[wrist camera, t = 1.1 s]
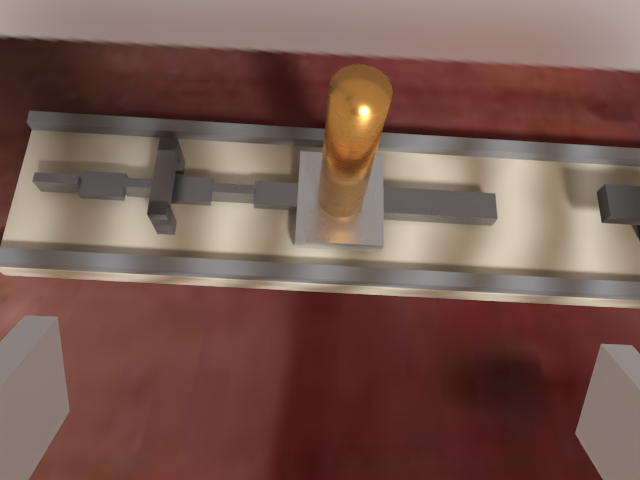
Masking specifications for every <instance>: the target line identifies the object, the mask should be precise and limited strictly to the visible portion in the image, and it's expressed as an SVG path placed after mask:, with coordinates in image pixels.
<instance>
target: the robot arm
mask: <svg viewBox="0 0 640 480" xmlns="http://www.w3.org/2000/svg"><path fill="white" fill-rule="evenodd" d="M68 413H69V404H68V396H67V388H66V380H65V372H64V364H63V356H62V348H61V340H60V332H59V324H58V317H48V316H28V315H25V316H24V317H23V318H22V319H21V320H20V321H19V322H18V323H17V324H16V326H15V327H14V328H13V329H12V330H11V331H10V332H9V333H8V334H7V335H6V336H5V337H4V339H3V340H2V341H1V342H0V480H29V478H30V476H31V475H32V473H33V471H34V470H35V468H36V466H37V465H38V463H39V461H40V460H41V458H42V456H43V455H44V453H45V451H46V450H47V448H48V446H49V445H50V443H51V441H52V440H53V438H54V436H55V435H56V433H57V431H58V430H59V428H60V426H61V425H62V423H63V421H64V420H65V418H66V416H67V415H68ZM575 434H576V436H577V437H578V439H579V441H580V442H581V444H582V446H583V447H584V449H585V451H586V452H587V454H588V456H589V457H590V459H591V461H592V462H593V464H594V465H595V467H596V469H597V470H598V472H599V474H600V475H601V477H602V479H603V480H640V354H639V353H638V351H637V350H636V349H635V348H634V347H633V346H632V345H614V344H601V346H600V350H599V353H598V357H597V360H596V364H595V367H594V370H593V374H592V377H591V381H590V384H589V388H588V391H587V395H586V398H585V402H584V405H583V408H582V412H581V415H580V419H579V422H578V426H577V429H576V433H575Z"/></svg>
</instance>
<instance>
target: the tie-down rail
mask: <svg viewBox="0 0 640 480" xmlns="http://www.w3.org/2000/svg"><path fill="white" fill-rule="evenodd" d="M26 122H27V124H28V125H29V127H30V128H31V129H32V131H31V135H30V139H29V142H28V146H27V150H26V153H25V157H24V161H23V164H22V168H21V172H20V175H19V179H18V183H17V187H16V190H15V194H14V198H13V201H12V205H11V209H10V212H9V216H8V220H7V223H6V227H5V231H4V234H3V238H2V242H1V245H0V272H1V273H2V274H4V275H10V276H29V277H48V278H67V279H86V280H105V281H124V282H143V283H162V284H182V285H201V286H220V287H239V288H258V289H277V290H296V291H315V292H334V293H353V294H372V295H391V296H410V297H429V298H448V299H467V300H486V301H505V302H524V303H543V304H562V305H582V306H601V307H620V308H639V309H640V148H625V147H609V146H593V145H576V144H560V143H544V142H528V141H512V140H496V139H479V138H463V137H447V136H431V135H415V134H399V133H382V135H381V138H380V142H379V146H378V149H377V153H376V156H383V187H396V188H413V189H430V190H447V191H464V192H481V193H495V195H496V206H497V218H498V219H497V220H496V222H495V223H494V224H493V225H492V226H486V225H468V224H450V223H433V222H415V221H398V220H384V246H383V249H382V251H381V252H368V251H350V250H332V249H313V248H295V233H296V216H297V211H292V210H275V209H257V208H254V204H250V203H233V202H215V201H212V203H211V206H205V205H187V204H171V197H172V191H173V184H174V178H175V176H181V177H198V178H213V181H214V183H227V184H244V185H255V183H256V181H267V182H284V183H298V182H299V166H300V151H307V152H323V143H324V133H325V129H318V128H302V127H285V126H269V125H253V124H237V123H221V122H205V121H188V120H172V119H156V118H140V117H124V116H108V115H91V114H75V113H59V112H43V111H29V114H28V118H27V121H26ZM82 171H96V172H113V173H126V174H127V176H128V178H141V179H153V181H152V187H151V193H150V198H145V197H128V196H127V195H125V201H117V200H100V199H82V198H80V197H79V195H78V194H76V193H58V192H41V191H40V190H39V189H38V187H37V186H36V185H35V184H34V183H33V182H32V180H33V176H34V173H35V172H39V173H56V174H73V175H80V177H81V175H82Z"/></svg>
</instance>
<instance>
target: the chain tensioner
mask: <svg viewBox="0 0 640 480" xmlns="http://www.w3.org/2000/svg"><path fill="white" fill-rule="evenodd" d="M391 98H392V86H391V83H390V81H389V80H388V78H387V77H386V76H385V75H384V74H383V73H382V72H381V71H380V70H378V69H376V68H374V67H371V66H368V65H362V64H355V65H349V66H346V67H344V68H342V69H340V70H339V71H338V72H337V73H336V74H335V75H334V76H333V78H332V79H331V82H330V87H329V96H328V105H327V115H326V124H325V133H324V143H323V152H307V151H300V166H299V182H298V183H284V182H267V181H256V183H255V185H244V184H227V183H214V181H213V178H198V177H181V176H175V178H174V184H173V191H172V197H171V204H187V205H205V206H211V203H212V201H215V202H233V203H250V204H254V208H257V209H275V210H292V211H297V216H296V233H295V248H313V249H332V250H350V251H368V252H381V251H382V249H383V246H384V220H398V221H415V222H433V223H450V224H468V225H486V226H492V225H493V224H494V223H495V222H496V220H497V219H498V218H497V206H496V195H495V193H481V192H464V191H447V190H430V189H413V188H396V187H383V156H376V153H377V149H378V146H379V142H380V138H381V135H382V131H383V127H384V124H385V120H386V116H387V112H388V109H389V105H390V101H391ZM152 181H153V179H141V178H128V176H127V174H126V173H113V172H96V171H82V175H81V177H80V175H73V174H56V173H39V172H35V173H34V176H33V180H32V182H33V183H34V184H35V185H36V186H37V187H38V189H39V190H40V191H41V192H58V193H76V194H78V195H79V197H80V198H82V199H100V200H117V201H125V195H127V196H128V197H145V198H150V193H151V187H152Z"/></svg>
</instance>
